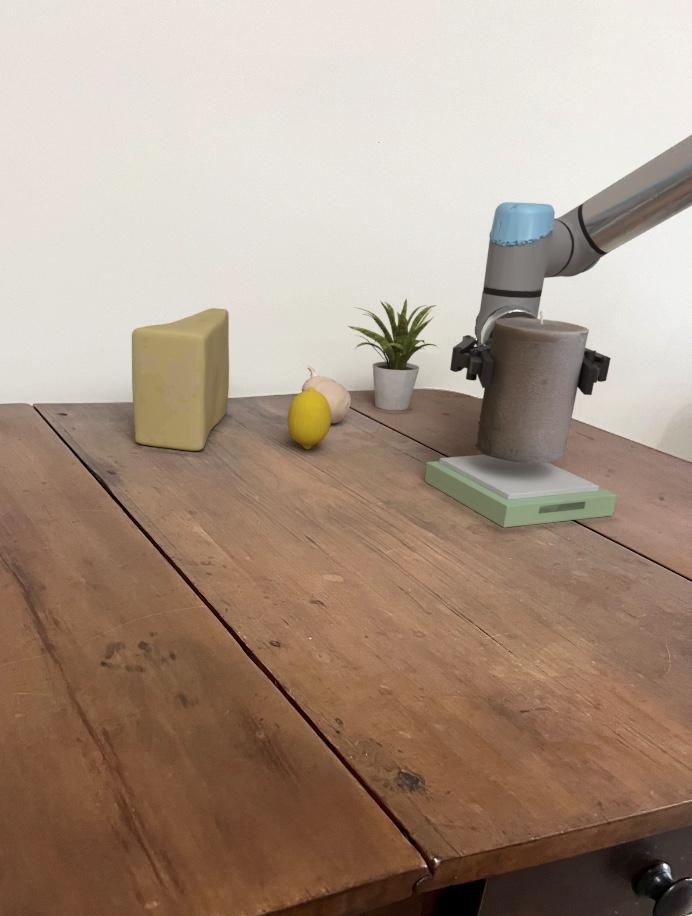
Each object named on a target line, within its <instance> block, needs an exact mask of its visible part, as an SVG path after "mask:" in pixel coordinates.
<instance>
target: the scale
mask: <svg viewBox="0 0 692 916" xmlns="http://www.w3.org/2000/svg"><path fill="white" fill-rule="evenodd" d="M424 482H425V483H426V484H428V485H430V486H431V487H434V488H435V489H437V490H438V491H440V492H442V493H443V494H446V496H449V497H450V498H451V499H454V500H456V501H457V502H459V503H461V504H462V505H464V506H466V507H468V508H469V509H471V510H472V511H474V512H476V513H478V514H479V515H481V516H483V517H485V519H488V520H489V521H491V522H492V523H495V524H497V525H498V526H500V527H502V528H513V527H523V526H532V525H533V526H534V525H540V524H549V523H550V524H551V523H558V522H567V521H568V522H569V521H577V520H585V519H594V518H603V517H612V516H613V515H614V511H615V506H616V502H617V497H618V495H617V494H616V493H614V492H611V491H610V490H607V489H605V488H603V487H601V486H600V485H598V484H596V483H594V482H592V481H589V480H587V479H585V478H583V477H581V476H579V475H576V474H574V473H572V472H569V471H567V470H566V469H563V468H560V467H559V466H556V465H553V464H551V462H550V463H521V462H514V461H507V460H502V459H498V458H494V457H490V456H486V455H484V454H476V455H465V456H464V455H463V456H452V457H440V458H439V460H436V461H427V462H426V466H425V476H424Z"/></svg>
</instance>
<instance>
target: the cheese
mask: <svg viewBox="0 0 692 916" xmlns="http://www.w3.org/2000/svg"><path fill="white" fill-rule="evenodd" d="M229 315H230V313H229V311H228V310H227V308H216V307H213V308H211V307H210V308H207V309H205V310H202V311H200V312H198V313H195V314H191V315H189V316H187V317H184V318H180V319H178V320H175V321H172V322H168V323H162V324H161V323H160V324H151V325H146V326H140V327H137V328H136V327H135V329H133V331H132V332H131V389H132V407H133V425H134V427H133V428H134V440H135V442H136V443H138V444H140V445H144V446H150V447H157V448H164V449H173V450H180V451H189V452H190V451H191V452H198V451H202V450H203V449H204V448H205V445H206V443H207V440H208V437H209V435H210V433H211V431H212V430H213V428H214V427H215V426H217V425H218V423H219V422H221V421H222V419H223V418H224V416H225V415H227V411H228V403H229V389H230V388H229V387H230V346H229V345H230V343H229V342H230V341H229V335H230V334H229V333H230V332H229V330H230V326H229V324H230V321H229V320H230V316H229Z"/></svg>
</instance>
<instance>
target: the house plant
mask: <svg viewBox="0 0 692 916" xmlns="http://www.w3.org/2000/svg"><path fill="white" fill-rule="evenodd" d="M380 303H381V306H382V307H383V309H384V310H385V313H386V315H387V318H388V320H389V321H388V322H389V325H390V329H391V333H390V332H389V330H388V328H387V326H386V325H385V323H384V322H383V321H382V320H381V319H380V318H379V316H377V315H376V314H375V313H373V312H371V311H369V310H367V309H363V308H360V307H357V306H356V307H354V309H358V310H362V311H364V313H362V315H364V316H368V317H370V318H372V319H373V321H374V322H375V324H377V326H378V328H379V330H380V332H381V334H382V335H381V334H379V333H377V332H375V331H372V330H369V329H367V328H363V327H360V326H352V325H351V326H350V325H347V327H348V328H350V329H352V330H354V331H357V332H360V333H361V334H362V335H364V336H366V337H367V338H370V339H371V340H373V341H374V343H373V342H371V341H369V340H368V339H367V338H366V337H364V336H361V335H359V337H361V338H362V339H364V340H366V342H361V343H359V344H357V345H356V346H355V349H357V348H359V347H361V346H365V345H368V346H371V347H372V348H373V349H374V350H375V351H376V352H377V353H378V354H379V356H380V357H381V359H383V361H378V362H374V363H373V364H372V374H373V375H372V376H373V377H372V378H373V391H374V406H375V407H376V408H378V409H381V410H387V411H404V410H408V409H409V406H410V403H411V399H412V395H413V391H414V388H415V385H416V381H417V377H418V374H419V371H420V366H418V365H417V364H413V363H409V360H410V359H411V358H412V356H413V355H414V354H415V353H416V352H418V351H419V350H420V351H421V350H422V349H423V350H425V348H424V347H427V346H432V347H433V346H434V347H436V348H437V349H439V348H438V346H437V344H434V343H425V339H417V338H418V336H419V335H420V334H421V332H422V331H423V330H424V329H425V328H426V327H427V325H428V324H429V323H430V322H431V321H432V320H433V317H431V318H430V319H428V320H426V319H427V318H428V316H429V314H430V313H431V312H432V311H433V310H432V308H434V307H436V306H437V305H436V304H435V305H434V304H433V305H429V306H428V305H427V304H425V305H420V306H418V307H416V308H415V309H414V310H413V311H412V312H411V314H410V315H409V317H408V318H407V311H408V299H407V298H405V300H404V302H403V307H402V309H401V312H399V311H396V315H397V322H396V315H395V311H394V308H393V306H392V305H391V304H390V303H388V302H386V301H384V303H383V302H382V301H380ZM385 304H386V305H385ZM423 307H424V308H423ZM421 308H422V310H421V311H419V313H418V314H417V315H416V316H415V314H416V313H417V312H418V310H419V309H421ZM414 316H415V318H414V319H413V317H414ZM412 319H413V320H412ZM411 320H412V322H411ZM425 320H426V321H425ZM410 323H411V325H410ZM409 326H410V328H409ZM391 334H392V335H391ZM355 336H356V337H358V334H357V335H356V334H355ZM420 342H421V343H423V344H421V345H418V344H419V343H420ZM376 343H377V344H379V345H377V344H376ZM376 348H377V349H376ZM378 350H379V351H381V353H382V354H383V355H382V354H381V353H380V352H379V351H378Z"/></svg>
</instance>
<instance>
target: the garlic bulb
mask: <svg viewBox="0 0 692 916" xmlns="http://www.w3.org/2000/svg"><path fill="white" fill-rule="evenodd" d="M307 370H308V371H309V372H310V378H308V379H306V380H305V381H304V383H303V384H302V386H301V392H303V391H306V390H307V389H308V388H314V389H315V391H317V392H319V393H321V394H322V395H323V396H324V397H325V398H326V399H327V401H328V403H329V407H330V412H331V424H337V423H340V422H341V421H342V420H343V419H344V418H345V417H346V416H347V414H348V412H349V410H350V408H351V404H352V398H351V395H350V392H349V391H348V390H347V388H346V387H345V386H344V385H343V384H341V383H339V382H338V381H336V380H335V379H333V378H331V377H327V376H321V375H318V374H317V372H316V369H315V368H313V367H312V366H311V365H309V364H308V366H307Z"/></svg>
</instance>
